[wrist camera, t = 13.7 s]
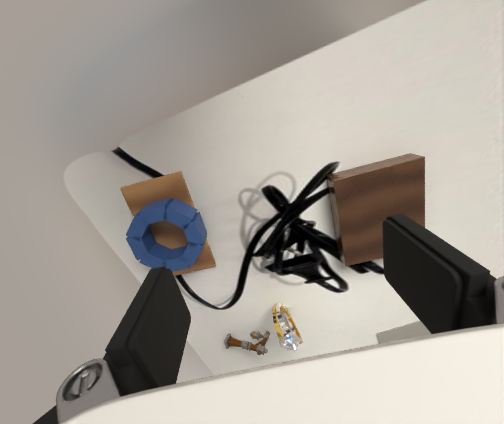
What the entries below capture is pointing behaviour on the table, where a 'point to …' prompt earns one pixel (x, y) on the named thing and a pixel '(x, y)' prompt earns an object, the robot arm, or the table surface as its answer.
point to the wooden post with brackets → (246, 345)
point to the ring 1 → (160, 254)
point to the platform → (374, 203)
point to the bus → (403, 332)
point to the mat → (166, 230)
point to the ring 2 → (286, 328)
